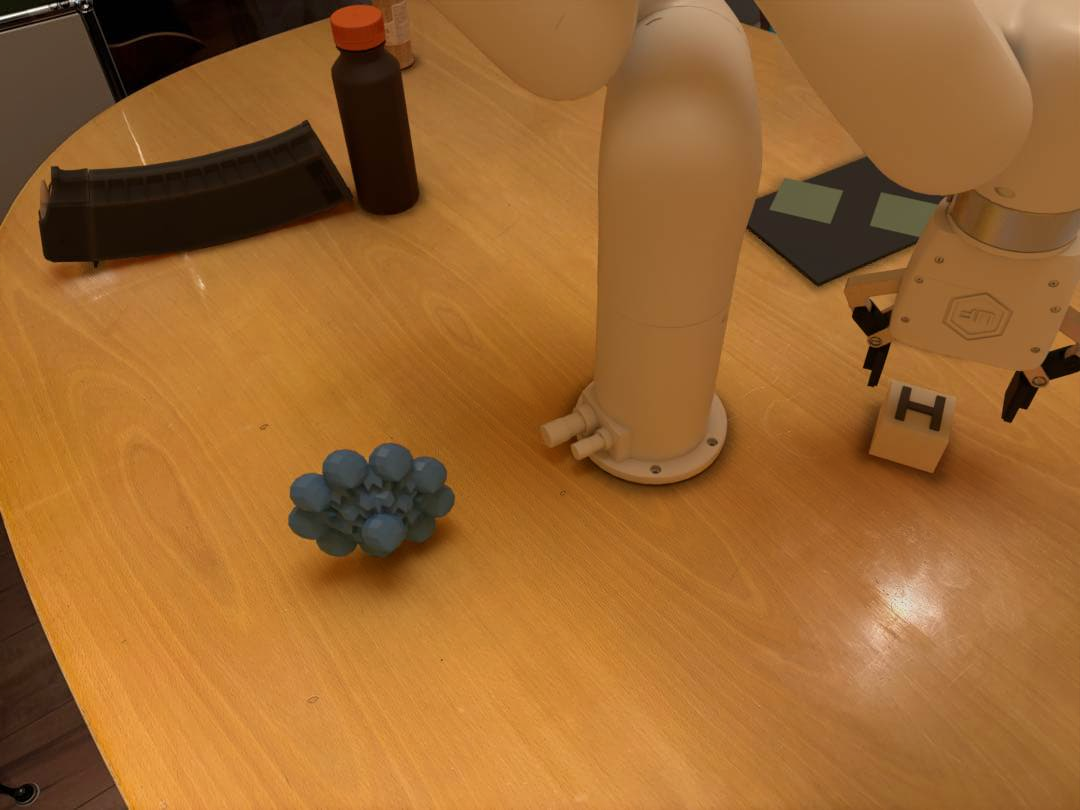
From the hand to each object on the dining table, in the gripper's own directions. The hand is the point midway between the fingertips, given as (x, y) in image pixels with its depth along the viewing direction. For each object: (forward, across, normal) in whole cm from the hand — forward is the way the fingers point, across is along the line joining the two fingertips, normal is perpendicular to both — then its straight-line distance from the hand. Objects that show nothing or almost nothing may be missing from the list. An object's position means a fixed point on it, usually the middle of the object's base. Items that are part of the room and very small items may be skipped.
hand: (939, 391), depth 67 cm
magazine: (+4, -72, -1) cm, 72 cm away
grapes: (+5, -34, -27) cm, 44 cm away
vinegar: (+5, -58, +13) cm, 60 cm away
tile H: (+6, -1, 0) cm, 6 cm away
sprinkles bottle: (+4, -73, +40) cm, 83 cm away
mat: (+6, -11, +29) cm, 32 cm away
